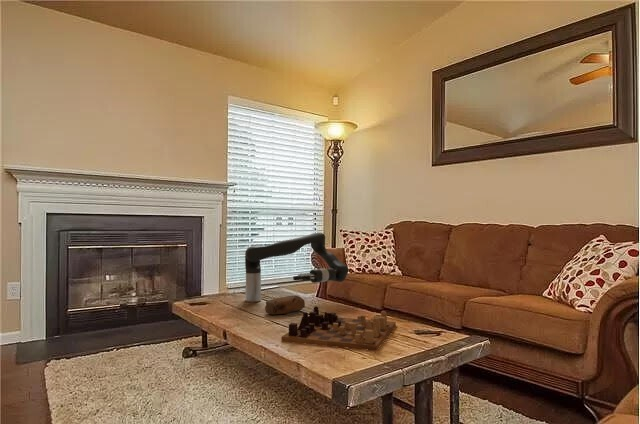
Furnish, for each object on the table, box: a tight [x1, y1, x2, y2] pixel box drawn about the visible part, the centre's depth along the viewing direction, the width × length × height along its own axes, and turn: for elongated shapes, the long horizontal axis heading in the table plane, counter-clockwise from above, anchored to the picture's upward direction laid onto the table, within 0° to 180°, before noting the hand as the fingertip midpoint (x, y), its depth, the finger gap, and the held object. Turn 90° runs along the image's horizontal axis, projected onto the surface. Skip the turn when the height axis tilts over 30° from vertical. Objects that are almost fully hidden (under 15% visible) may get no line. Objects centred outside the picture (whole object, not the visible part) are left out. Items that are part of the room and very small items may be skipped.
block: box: [264, 295, 306, 315], centre depth 231 cm, size 11×8×20 cm
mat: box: [284, 310, 301, 316], centre depth 236 cm, size 20×8×1 cm, turn 37°
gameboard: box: [280, 305, 397, 351], centre depth 190 cm, size 40×40×9 cm
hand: (294, 278), depth 234 cm, fingers closed
